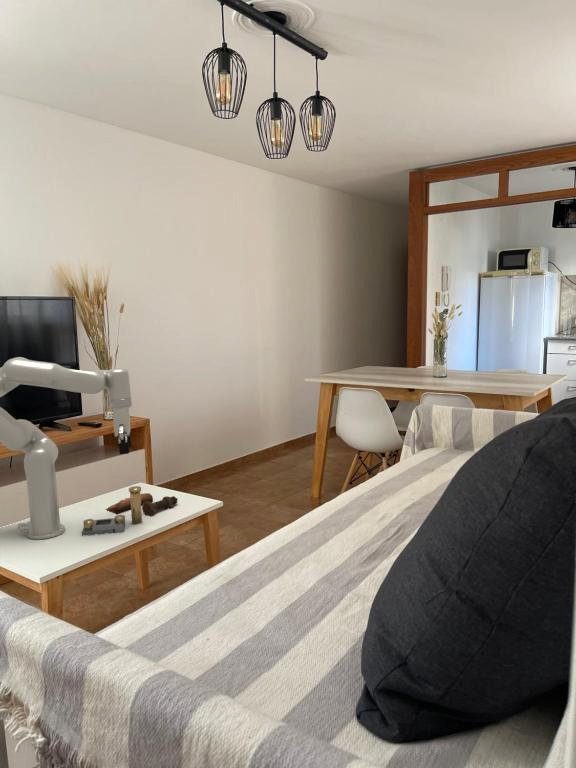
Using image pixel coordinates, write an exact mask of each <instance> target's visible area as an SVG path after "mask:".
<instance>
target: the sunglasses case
mask: <svg viewBox="0 0 576 768" xmlns="http://www.w3.org/2000/svg"><path fill="white" fill-rule="evenodd" d="M140 496H141V505H143V504H144V502H146V501H148V502H153V501H154V498H153V495H152V494H151V493H145V492H144V493H140ZM128 509H131V500H130V497H126V498H124V499H120V500H119V501H118V502H117V503H115V504H111V505H110V506H108V507H107V508H105V510H107V511H106V512H108V511H109V513H112V514H116V515H117V514H120V513H121V512H124V511H126V510H128Z"/></svg>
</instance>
